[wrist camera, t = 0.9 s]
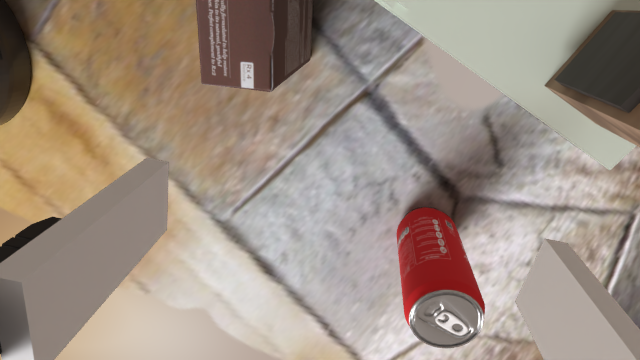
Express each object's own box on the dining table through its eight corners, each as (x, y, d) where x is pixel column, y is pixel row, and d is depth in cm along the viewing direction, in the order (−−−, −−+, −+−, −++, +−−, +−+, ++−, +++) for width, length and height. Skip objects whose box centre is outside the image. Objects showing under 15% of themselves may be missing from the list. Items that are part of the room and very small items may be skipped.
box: (255, -23, 31) (190, -38, 20) (314, -19, 30) (282, -33, 19) (256, 60, 33) (198, 86, 22) (310, 64, 33) (279, 93, 22)
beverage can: (421, 192, 36) (442, 273, 25) (466, 224, 37) (506, 317, 26) (384, 232, 38) (388, 323, 27) (427, 262, 39) (449, 363, 28)
